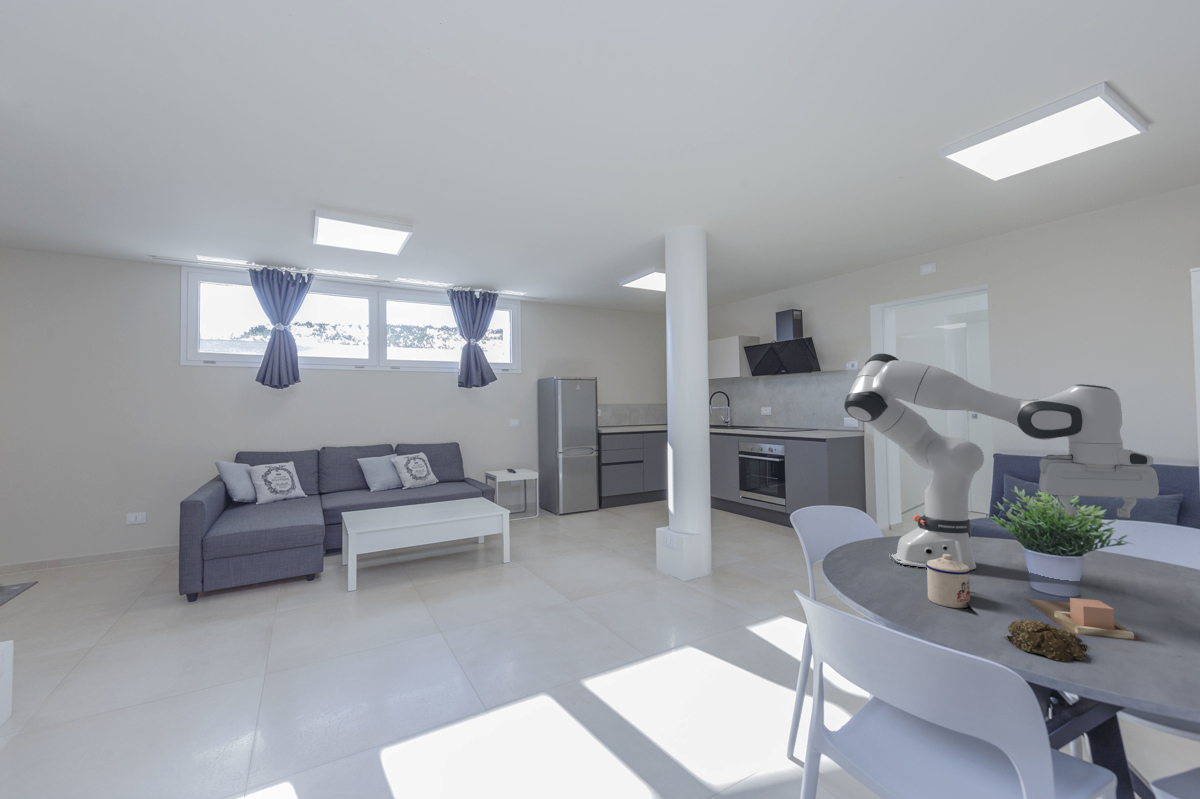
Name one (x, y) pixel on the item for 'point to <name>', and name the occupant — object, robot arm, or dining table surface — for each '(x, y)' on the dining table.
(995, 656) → the dining table surface
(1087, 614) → the terracotta cube
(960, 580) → the teacup with lid
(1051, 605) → the assembly board
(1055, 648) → the bread roll
